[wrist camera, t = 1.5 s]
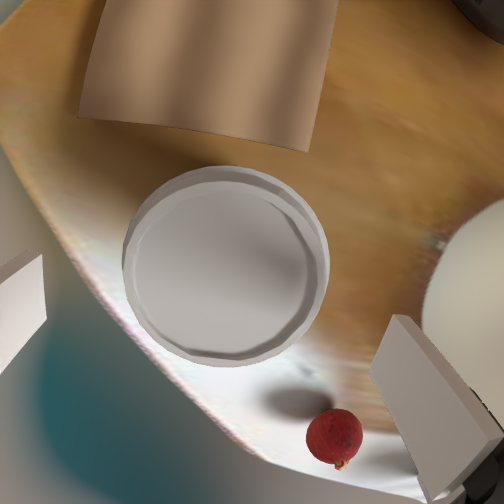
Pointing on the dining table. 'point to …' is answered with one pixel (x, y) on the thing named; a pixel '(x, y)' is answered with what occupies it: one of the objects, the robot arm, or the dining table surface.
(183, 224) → the disposable coffee cup
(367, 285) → the dining table surface
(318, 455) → the onion
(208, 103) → the square wooden board
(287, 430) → the dining table surface
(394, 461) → the dining table surface
